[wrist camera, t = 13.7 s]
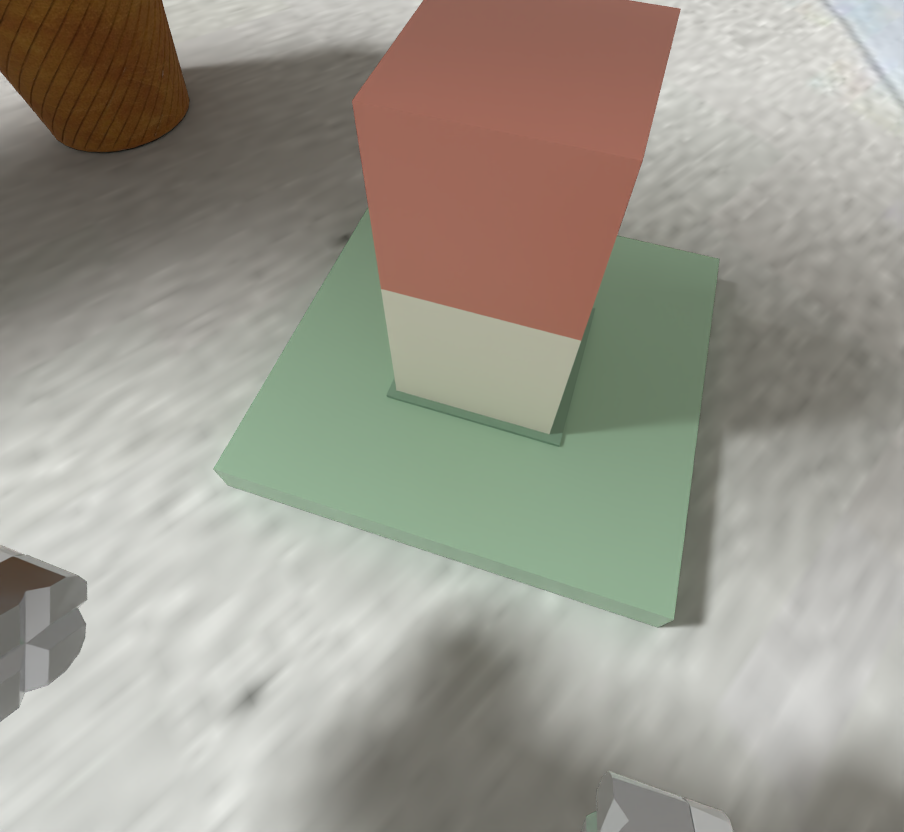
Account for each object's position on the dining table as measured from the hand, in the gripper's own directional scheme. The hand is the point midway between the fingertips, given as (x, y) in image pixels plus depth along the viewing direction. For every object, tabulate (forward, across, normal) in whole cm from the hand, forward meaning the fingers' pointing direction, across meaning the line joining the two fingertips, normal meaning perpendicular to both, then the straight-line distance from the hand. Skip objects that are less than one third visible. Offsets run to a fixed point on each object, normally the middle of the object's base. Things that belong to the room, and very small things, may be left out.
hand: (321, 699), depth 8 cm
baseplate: (+12, 0, -3) cm, 13 cm away
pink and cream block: (+11, 0, -4) cm, 12 cm away
